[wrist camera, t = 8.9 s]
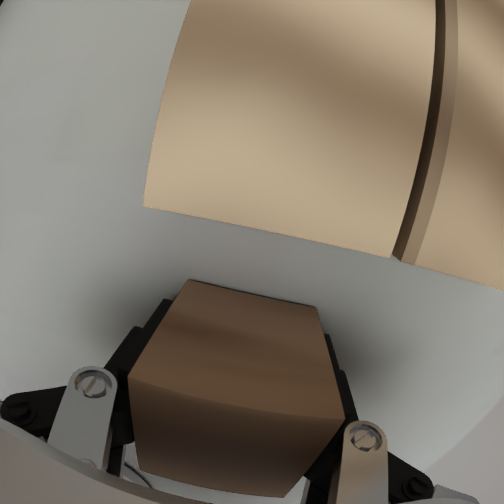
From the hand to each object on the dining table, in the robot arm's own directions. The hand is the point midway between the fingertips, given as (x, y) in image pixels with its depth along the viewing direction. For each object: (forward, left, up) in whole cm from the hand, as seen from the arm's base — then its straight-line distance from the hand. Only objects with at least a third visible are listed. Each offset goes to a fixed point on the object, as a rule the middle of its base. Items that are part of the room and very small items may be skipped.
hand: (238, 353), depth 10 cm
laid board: (+15, -7, -1) cm, 16 cm away
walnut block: (0, 0, 0) cm, 0 cm away
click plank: (+15, 0, 0) cm, 15 cm away
